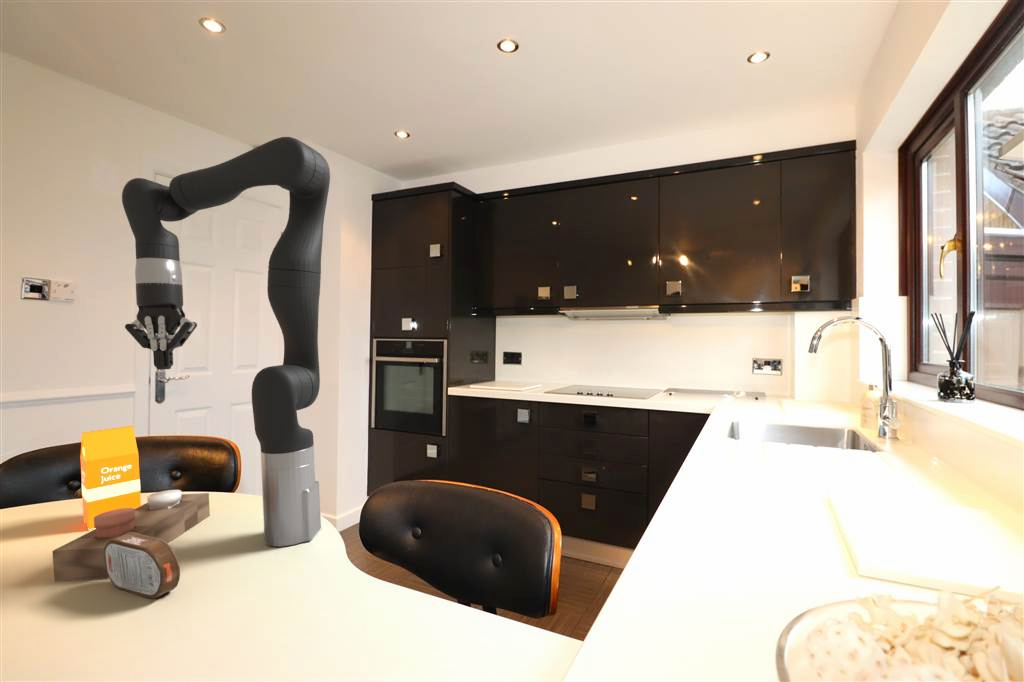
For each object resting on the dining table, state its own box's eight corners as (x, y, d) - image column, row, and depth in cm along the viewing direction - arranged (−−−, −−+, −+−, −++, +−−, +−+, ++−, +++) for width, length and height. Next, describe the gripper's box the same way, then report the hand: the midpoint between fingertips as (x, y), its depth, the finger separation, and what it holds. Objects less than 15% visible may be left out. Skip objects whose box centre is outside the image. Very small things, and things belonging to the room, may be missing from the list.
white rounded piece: (188, 519, 99) (187, 488, 99) (171, 530, 93) (169, 498, 93) (161, 521, 99) (159, 490, 99) (141, 532, 93) (140, 499, 93)
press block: (209, 515, 103) (208, 493, 103) (118, 576, 77) (117, 546, 77) (162, 518, 102) (161, 495, 102) (54, 581, 76) (52, 550, 76)
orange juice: (142, 517, 103) (137, 427, 103) (88, 531, 97) (83, 434, 96) (134, 509, 108) (130, 423, 108) (83, 522, 102) (78, 430, 101)
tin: (183, 594, 71) (180, 539, 71) (160, 606, 68) (158, 549, 68) (123, 577, 77) (121, 527, 77) (100, 587, 74) (98, 535, 74)
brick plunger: (144, 542, 86) (142, 507, 86) (121, 556, 80) (119, 519, 80) (112, 544, 86) (110, 508, 86) (86, 558, 80) (84, 521, 80)
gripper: (204, 284, 98) (208, 366, 98) (138, 286, 97) (142, 369, 97) (182, 280, 90) (186, 369, 91) (110, 282, 90) (114, 372, 90)
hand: (163, 369), depth 94 cm, fingers closed
